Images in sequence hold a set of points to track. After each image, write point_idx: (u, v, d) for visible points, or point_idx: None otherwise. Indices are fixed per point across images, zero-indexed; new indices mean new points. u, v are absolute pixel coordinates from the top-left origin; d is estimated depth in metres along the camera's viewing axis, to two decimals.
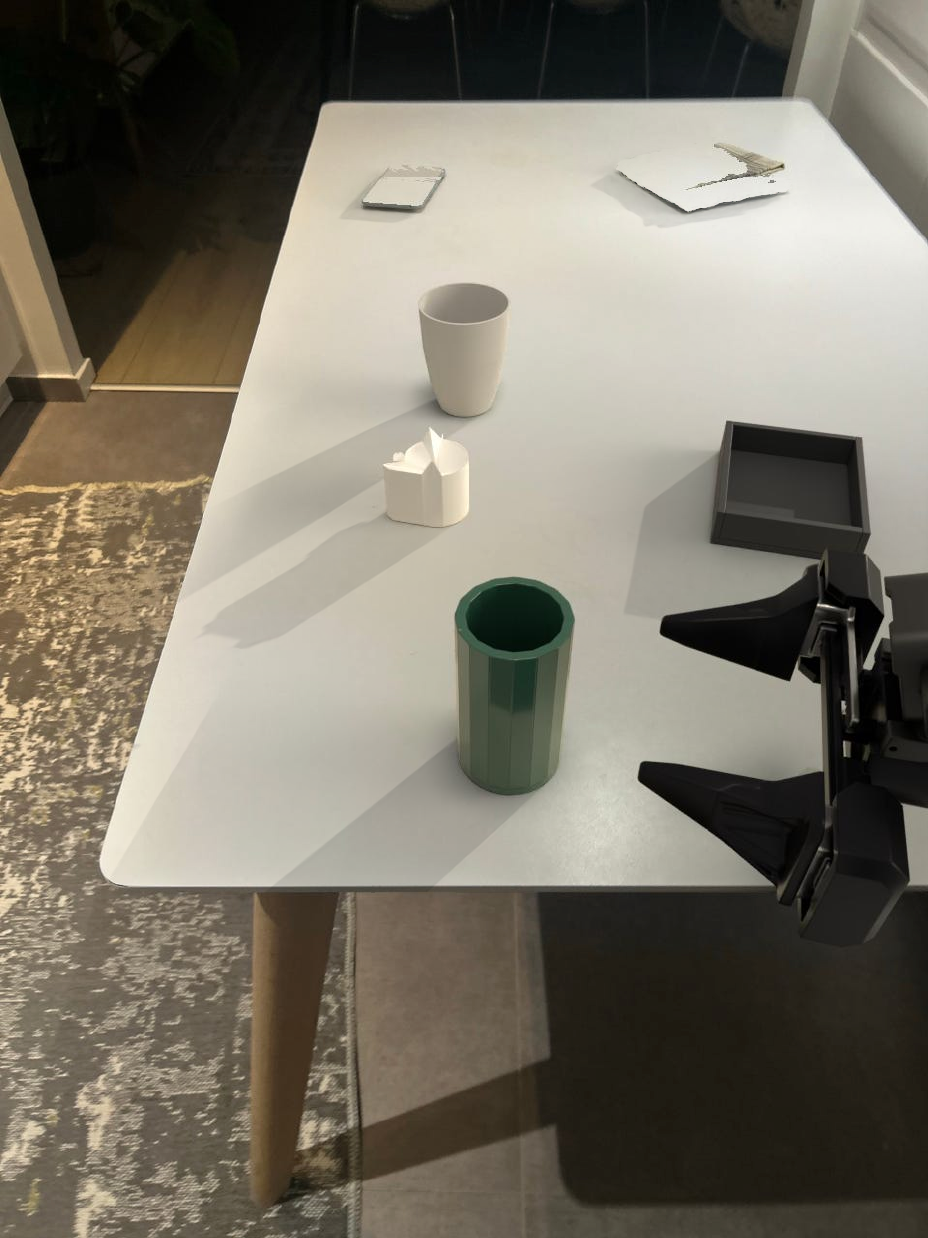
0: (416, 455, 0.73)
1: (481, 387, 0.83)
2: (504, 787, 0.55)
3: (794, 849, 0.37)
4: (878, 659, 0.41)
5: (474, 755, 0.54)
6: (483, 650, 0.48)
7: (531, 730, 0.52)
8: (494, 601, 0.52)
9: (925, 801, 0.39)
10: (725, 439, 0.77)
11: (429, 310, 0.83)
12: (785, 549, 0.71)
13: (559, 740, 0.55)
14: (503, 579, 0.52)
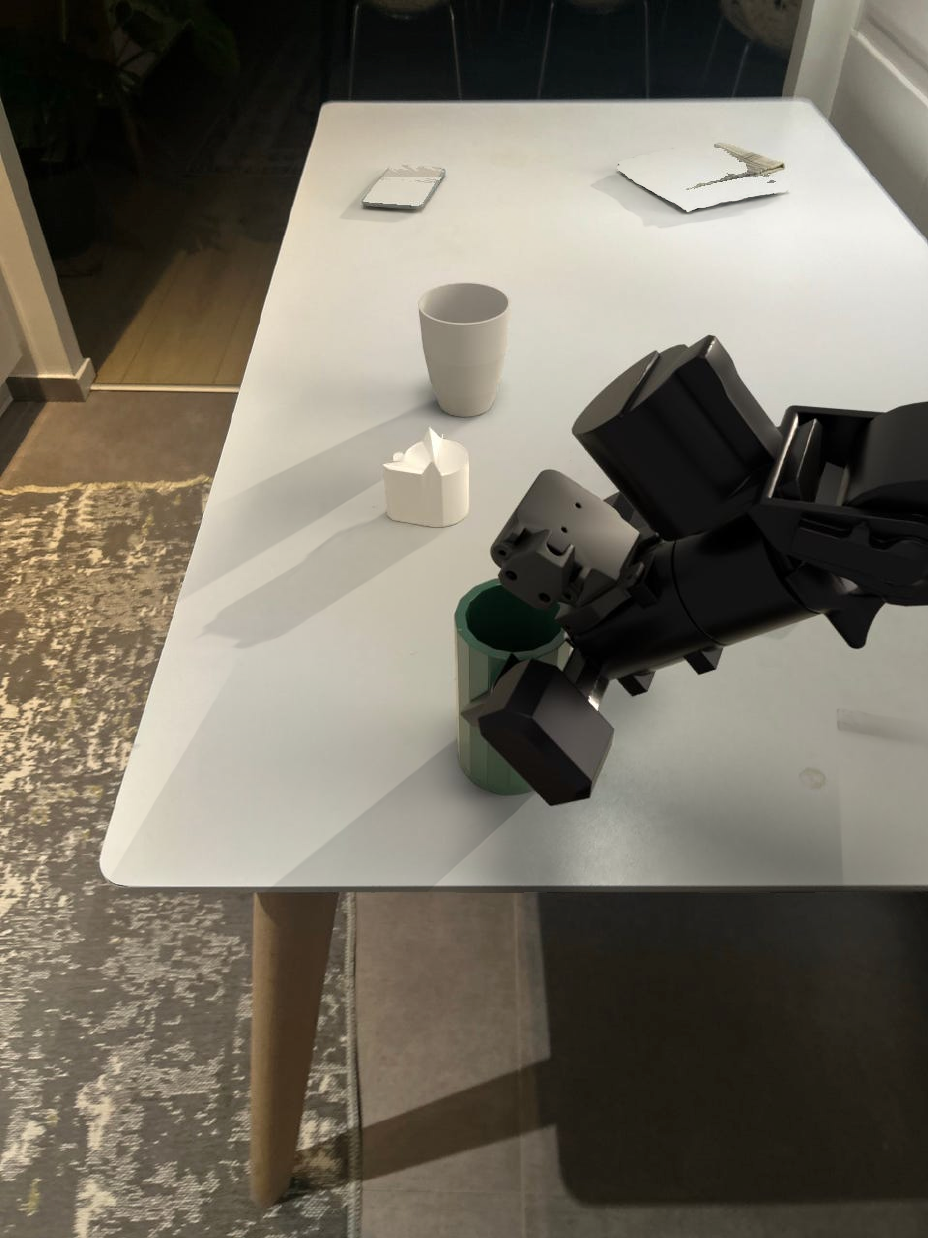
0: (416, 455, 0.73)
1: (481, 387, 0.83)
2: (504, 787, 0.55)
3: None
4: None
5: (474, 755, 0.54)
6: (483, 650, 0.48)
7: None
8: (494, 601, 0.52)
9: (642, 656, 0.44)
10: None
11: (429, 310, 0.83)
12: None
13: None
14: None
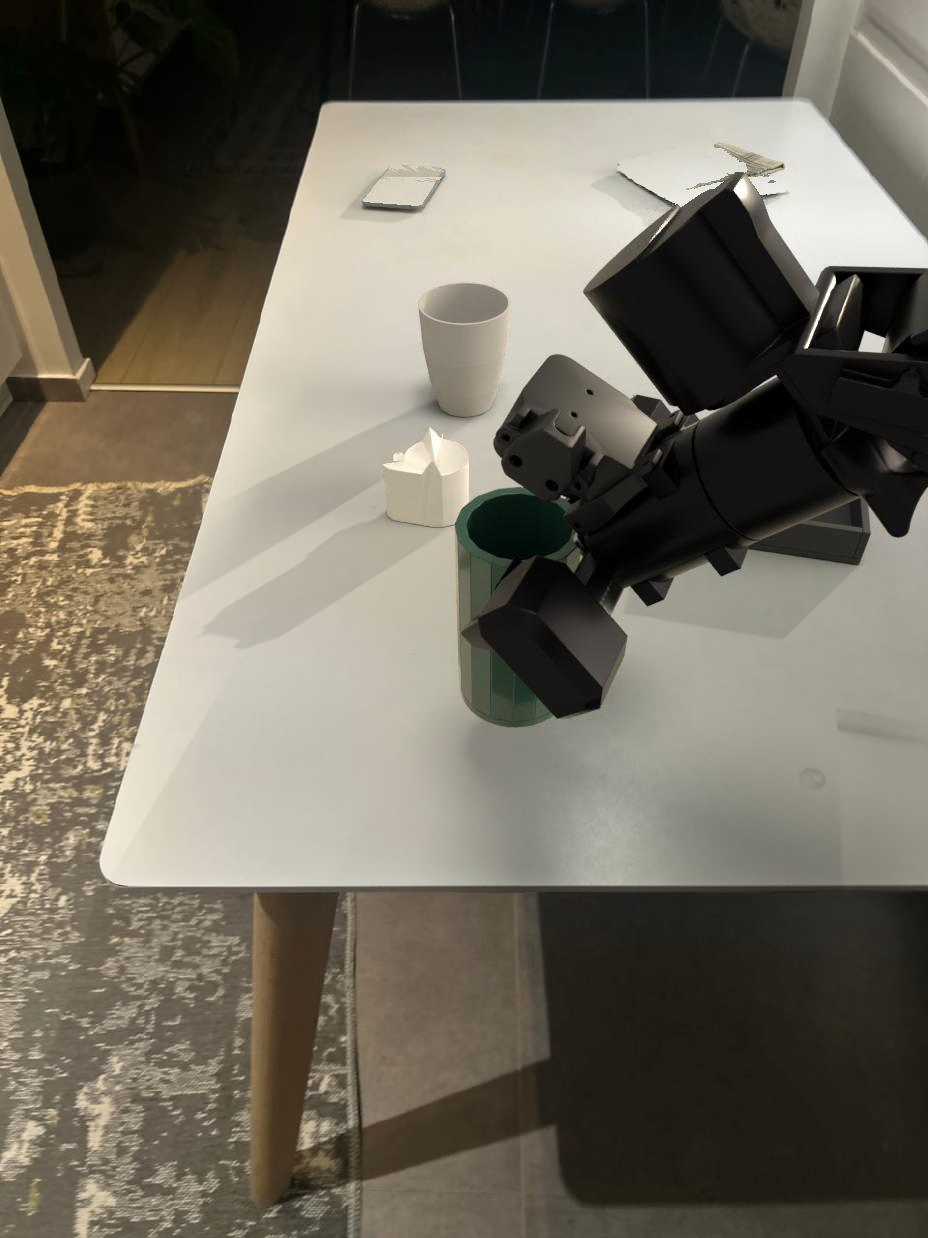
0: (416, 455, 0.73)
1: (481, 387, 0.83)
2: (508, 719, 0.51)
3: None
4: None
5: (476, 683, 0.51)
6: (485, 558, 0.44)
7: None
8: (498, 514, 0.48)
9: (658, 556, 0.40)
10: None
11: (429, 310, 0.83)
12: (785, 549, 0.71)
13: None
14: (508, 489, 0.48)
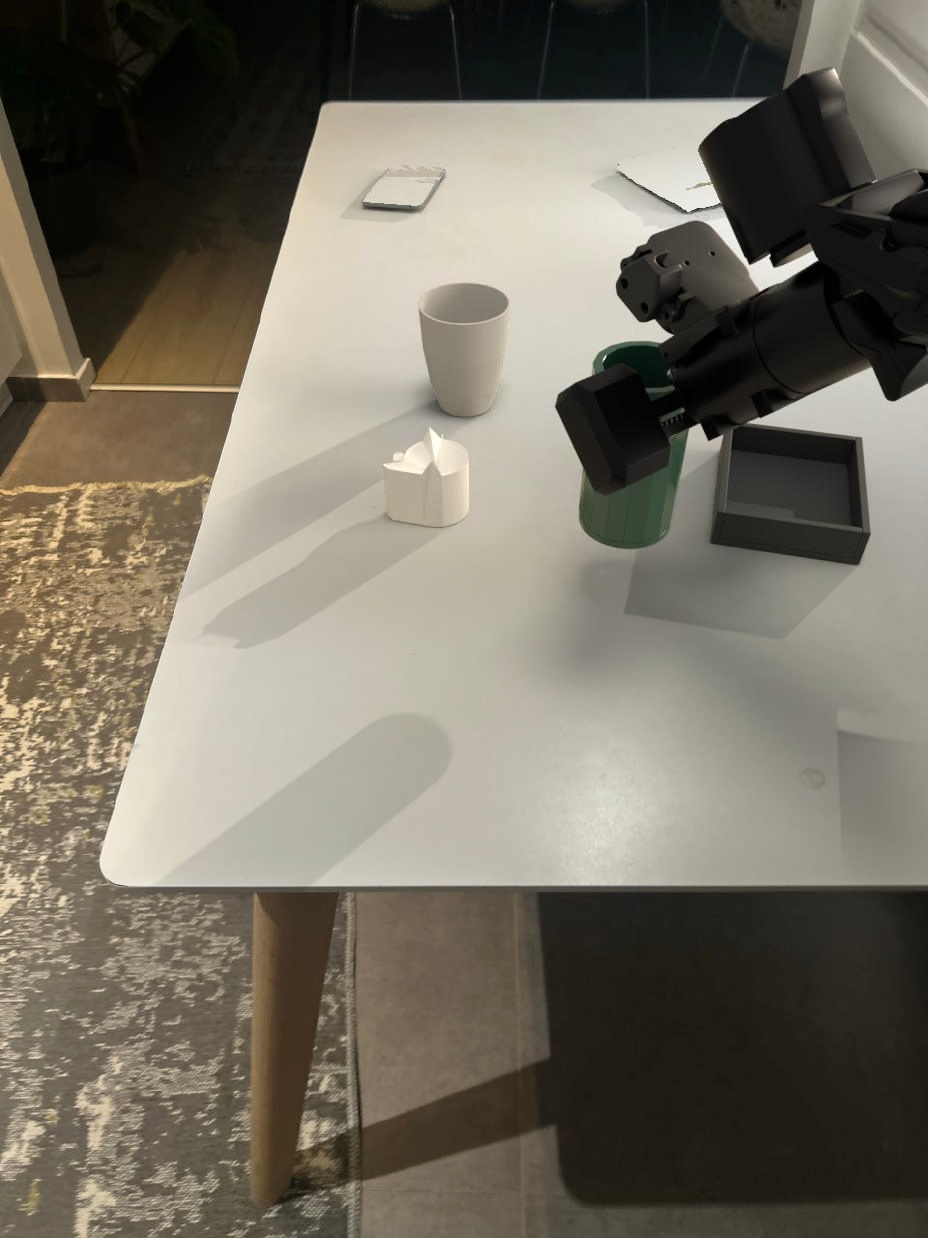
0: (416, 455, 0.73)
1: (481, 387, 0.83)
2: (602, 535, 0.62)
3: None
4: None
5: (585, 496, 0.62)
6: None
7: None
8: (642, 361, 0.59)
9: (717, 391, 0.49)
10: (725, 439, 0.77)
11: (429, 310, 0.83)
12: (785, 549, 0.71)
13: (661, 507, 0.61)
14: (655, 343, 0.58)
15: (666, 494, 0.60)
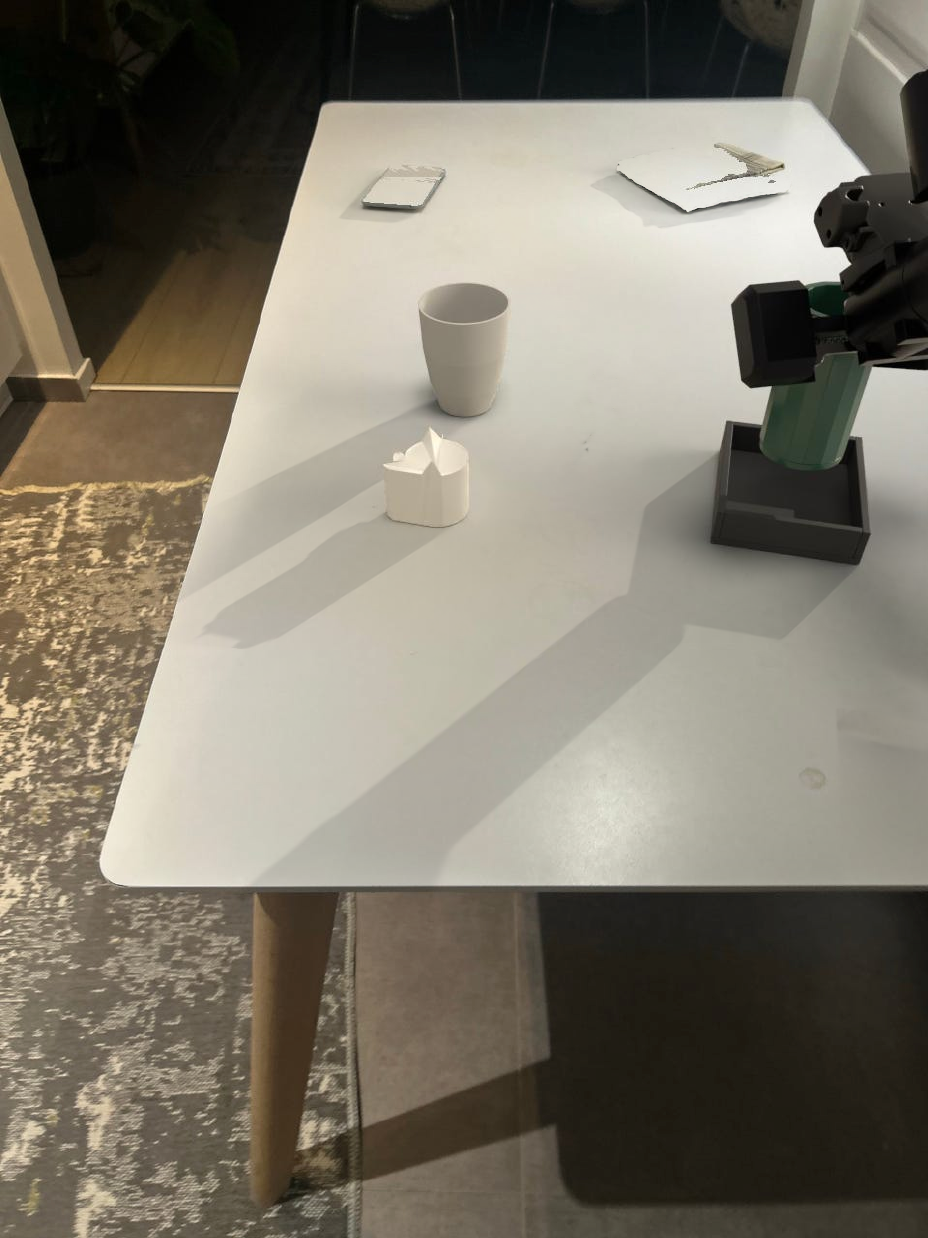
0: (416, 455, 0.73)
1: (481, 387, 0.83)
2: (770, 450, 0.70)
3: None
4: None
5: (766, 413, 0.70)
6: None
7: (802, 396, 0.66)
8: None
9: (870, 317, 0.56)
10: (725, 439, 0.77)
11: (429, 310, 0.83)
12: (785, 549, 0.71)
13: (827, 436, 0.68)
14: None
15: (833, 424, 0.67)
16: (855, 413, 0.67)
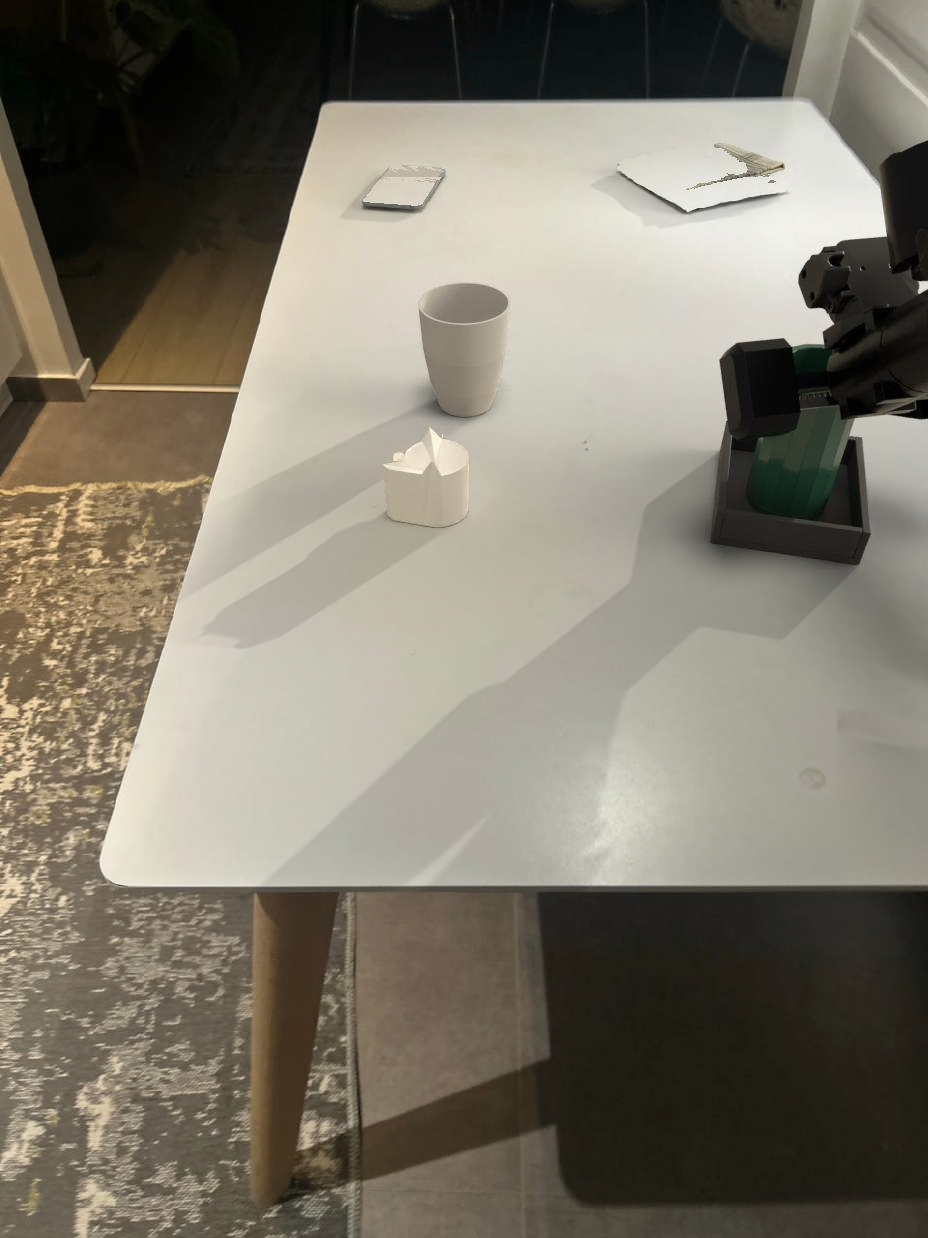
0: (416, 455, 0.73)
1: (481, 387, 0.83)
2: (756, 500, 0.74)
3: None
4: None
5: (752, 465, 0.74)
6: None
7: (786, 453, 0.69)
8: None
9: (851, 376, 0.59)
10: (725, 439, 0.77)
11: (429, 310, 0.83)
12: (785, 549, 0.71)
13: (809, 489, 0.71)
14: None
15: (815, 479, 0.70)
16: (836, 468, 0.71)
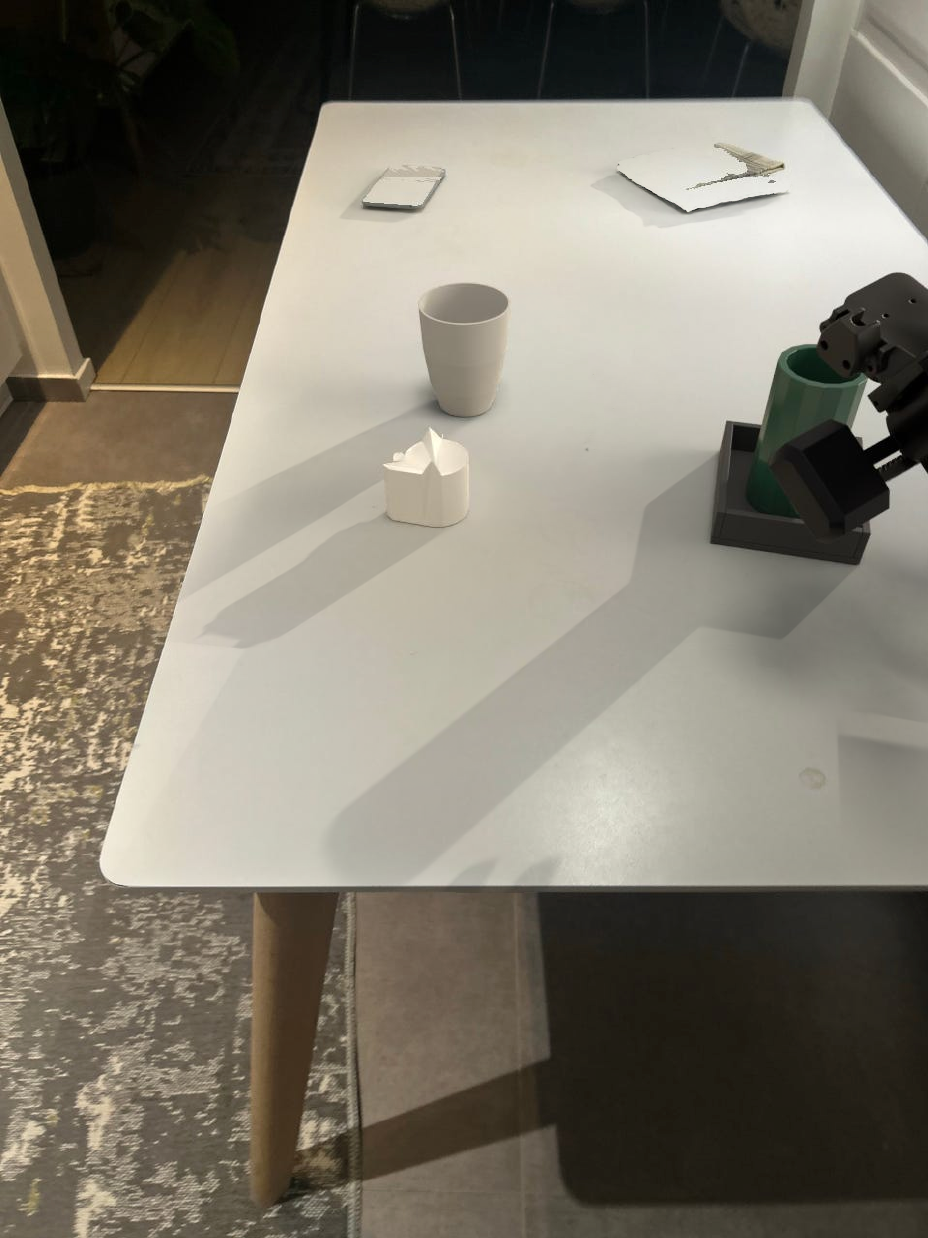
0: (416, 455, 0.73)
1: (481, 387, 0.83)
2: (756, 500, 0.74)
3: None
4: None
5: (752, 465, 0.74)
6: (782, 365, 0.67)
7: None
8: None
9: None
10: (725, 439, 0.77)
11: (429, 310, 0.83)
12: (785, 549, 0.71)
13: None
14: None
15: None
16: None
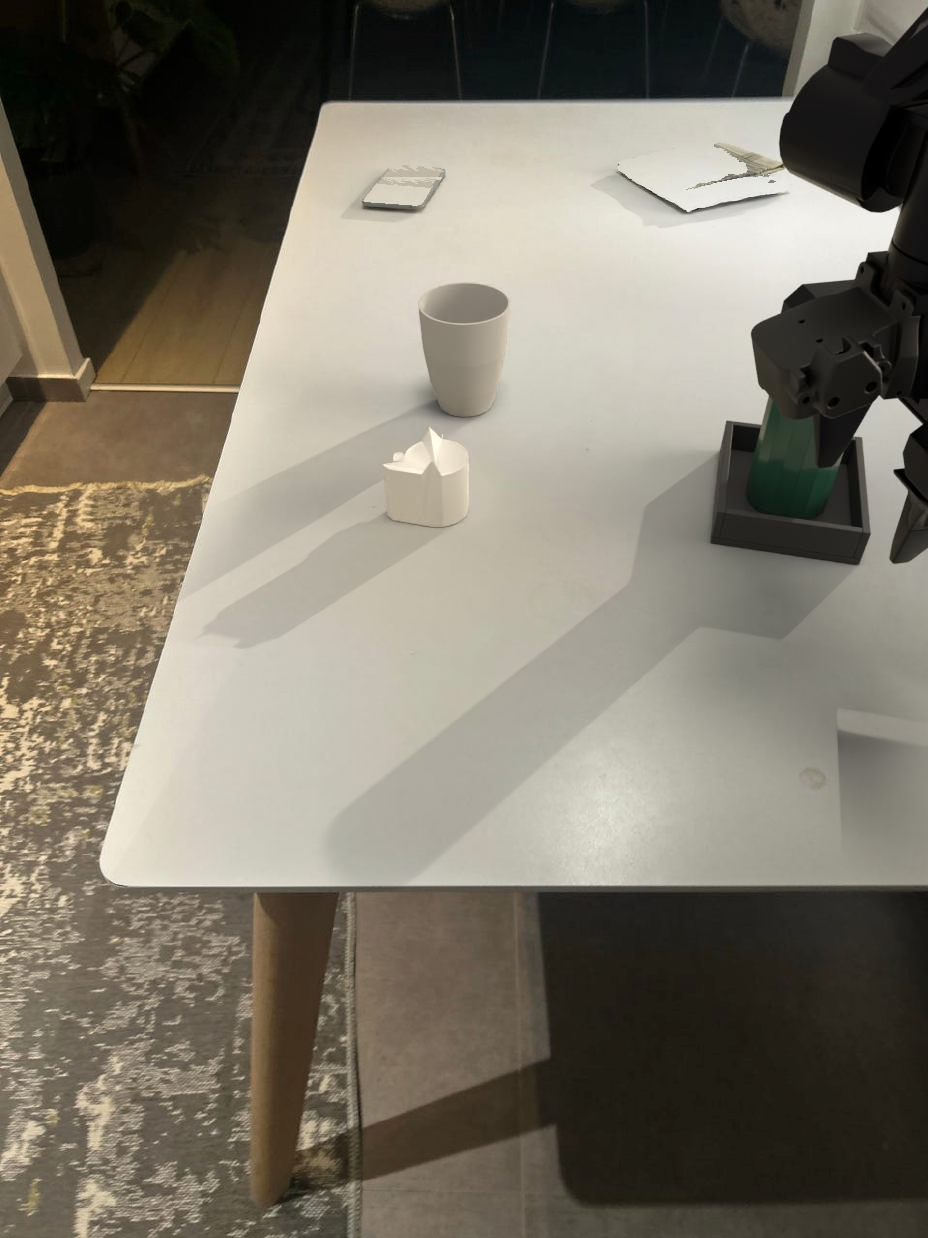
0: (416, 455, 0.73)
1: (481, 387, 0.83)
2: (756, 500, 0.74)
3: None
4: None
5: (752, 465, 0.74)
6: None
7: (786, 453, 0.69)
8: None
9: None
10: (725, 439, 0.77)
11: (429, 310, 0.83)
12: (785, 549, 0.71)
13: (809, 489, 0.71)
14: None
15: (815, 479, 0.70)
16: (836, 468, 0.71)
